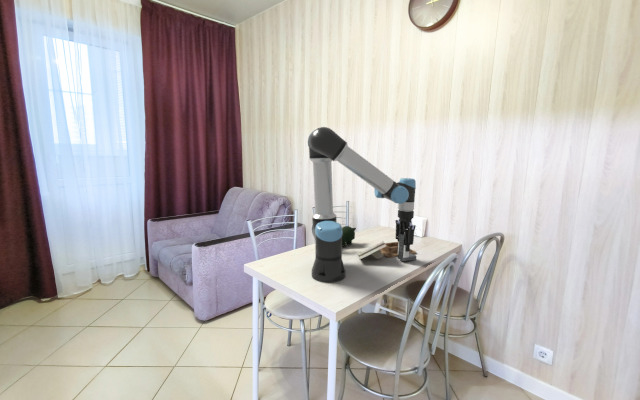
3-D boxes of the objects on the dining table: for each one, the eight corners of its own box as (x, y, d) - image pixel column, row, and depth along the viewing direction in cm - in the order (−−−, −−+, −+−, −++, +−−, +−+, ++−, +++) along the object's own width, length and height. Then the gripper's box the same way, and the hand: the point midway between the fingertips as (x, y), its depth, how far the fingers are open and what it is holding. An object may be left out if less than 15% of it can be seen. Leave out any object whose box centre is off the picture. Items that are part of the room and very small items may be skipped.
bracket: (402, 261, 148) (404, 235, 146) (398, 258, 151) (399, 233, 149) (416, 259, 150) (417, 234, 148) (411, 257, 154) (412, 232, 152)
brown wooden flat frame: (387, 257, 155) (387, 250, 154) (374, 249, 168) (374, 242, 167) (416, 253, 161) (416, 246, 160) (401, 246, 174) (401, 239, 173)
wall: (370, 273, 145) (394, 253, 144) (358, 259, 145) (382, 239, 144) (367, 266, 161) (389, 248, 160) (357, 253, 162) (378, 235, 161)
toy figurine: (331, 255, 163) (362, 242, 179) (329, 222, 159) (361, 212, 175) (320, 251, 170) (350, 239, 186) (318, 219, 166) (349, 209, 182)
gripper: (423, 212, 139) (420, 260, 143) (402, 206, 155) (399, 249, 159) (410, 213, 137) (407, 262, 140) (389, 207, 153) (387, 251, 156)
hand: (403, 255), depth 150 cm, fingers closed on bracket, 4 cm apart
